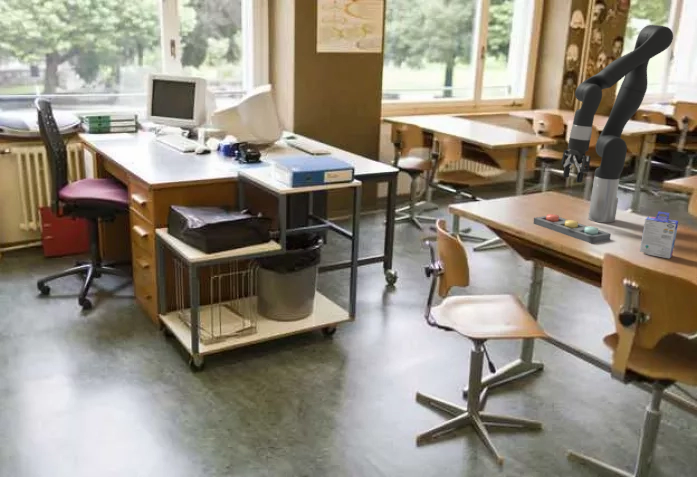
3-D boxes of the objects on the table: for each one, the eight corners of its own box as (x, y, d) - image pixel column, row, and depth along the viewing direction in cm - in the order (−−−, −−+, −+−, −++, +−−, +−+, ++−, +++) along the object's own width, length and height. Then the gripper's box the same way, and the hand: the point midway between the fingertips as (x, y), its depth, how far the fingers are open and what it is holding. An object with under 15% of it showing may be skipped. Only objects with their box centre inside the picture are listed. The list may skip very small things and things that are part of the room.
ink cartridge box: (672, 255, 232) (680, 213, 228) (670, 259, 228) (678, 217, 223) (641, 249, 237) (648, 208, 233) (638, 253, 233) (646, 212, 228)
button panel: (533, 225, 261) (534, 217, 260) (551, 222, 266) (552, 214, 265) (590, 245, 239) (591, 237, 238) (609, 241, 244) (610, 233, 243)
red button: (543, 221, 260) (543, 214, 259) (551, 219, 262) (552, 213, 262) (552, 224, 256) (553, 218, 256) (561, 222, 259) (561, 216, 258)
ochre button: (561, 227, 253) (562, 221, 252) (570, 225, 255) (571, 219, 254) (571, 230, 249) (572, 224, 248) (580, 229, 251) (580, 222, 251)
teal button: (581, 233, 245) (582, 227, 245) (589, 232, 248) (590, 225, 247) (591, 237, 242) (592, 230, 241) (600, 235, 244) (601, 229, 243)
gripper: (600, 141, 253) (591, 184, 258) (577, 134, 266) (569, 175, 271) (582, 140, 251) (574, 183, 255) (560, 133, 264) (553, 175, 268)
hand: (572, 179), depth 263 cm, fingers open, 8 cm apart
